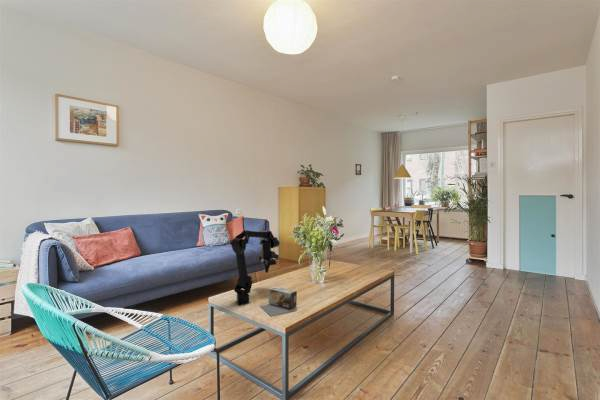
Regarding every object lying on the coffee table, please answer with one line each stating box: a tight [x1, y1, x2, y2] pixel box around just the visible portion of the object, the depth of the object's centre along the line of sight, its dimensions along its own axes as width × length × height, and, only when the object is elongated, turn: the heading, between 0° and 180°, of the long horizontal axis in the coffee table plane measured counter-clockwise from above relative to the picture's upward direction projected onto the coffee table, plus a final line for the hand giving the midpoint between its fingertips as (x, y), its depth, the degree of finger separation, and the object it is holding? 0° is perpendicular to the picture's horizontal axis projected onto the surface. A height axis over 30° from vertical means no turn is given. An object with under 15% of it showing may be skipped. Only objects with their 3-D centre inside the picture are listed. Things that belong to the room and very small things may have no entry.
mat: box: [259, 303, 298, 317], centre depth 173 cm, size 16×16×1 cm
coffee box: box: [268, 286, 298, 309], centre depth 178 cm, size 9×6×16 cm
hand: (266, 272), depth 201 cm, fingers closed
